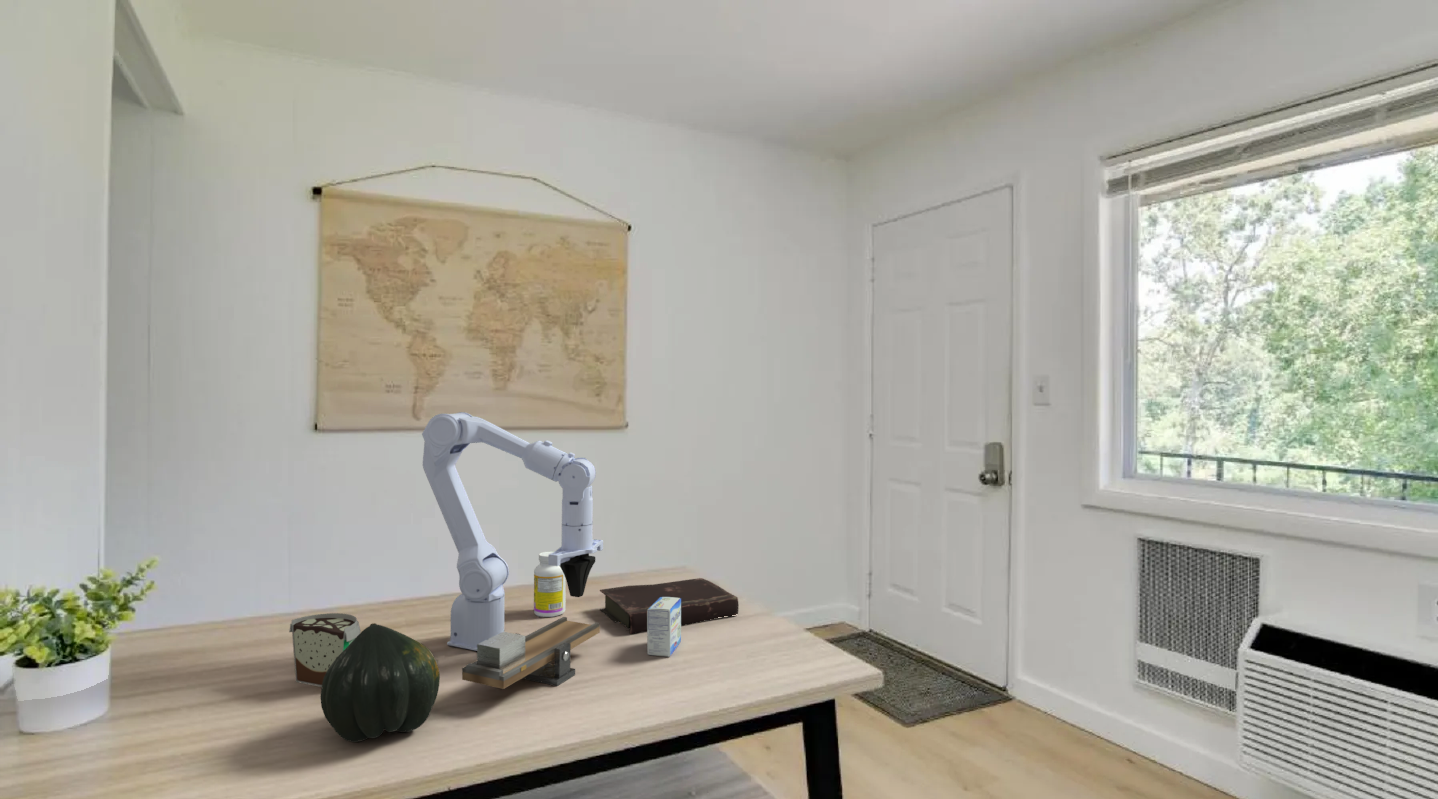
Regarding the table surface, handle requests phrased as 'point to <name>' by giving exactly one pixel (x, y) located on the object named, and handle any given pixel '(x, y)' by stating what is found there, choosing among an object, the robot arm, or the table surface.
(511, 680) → the beam
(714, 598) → the diary
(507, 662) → the block
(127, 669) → the table surface
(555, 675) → the stand
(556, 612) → the supplement bottle
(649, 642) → the medicine box
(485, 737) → the table surface
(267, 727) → the table surface
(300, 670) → the food container
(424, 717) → the squash
